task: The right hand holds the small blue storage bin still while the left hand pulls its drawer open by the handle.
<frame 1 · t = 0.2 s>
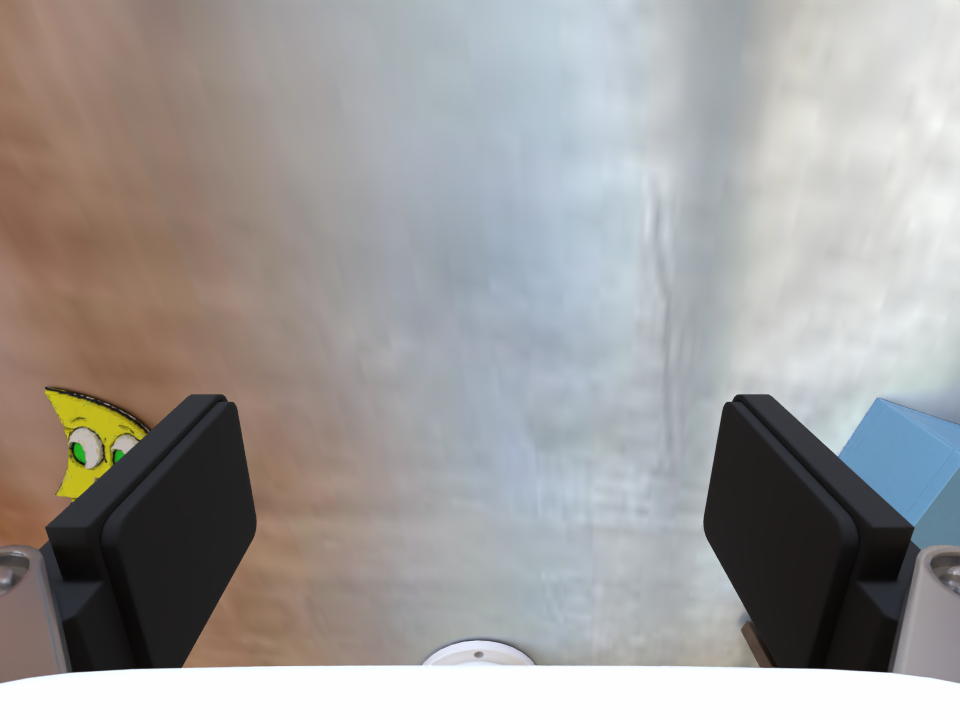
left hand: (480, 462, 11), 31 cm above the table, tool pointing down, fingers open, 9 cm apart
toy 2: (117, 477, 48), on the table
blue storage bin: (863, 523, 50), on the table
drawer: (853, 616, 48), point 4 cm above the table, slide at 1.5 cm
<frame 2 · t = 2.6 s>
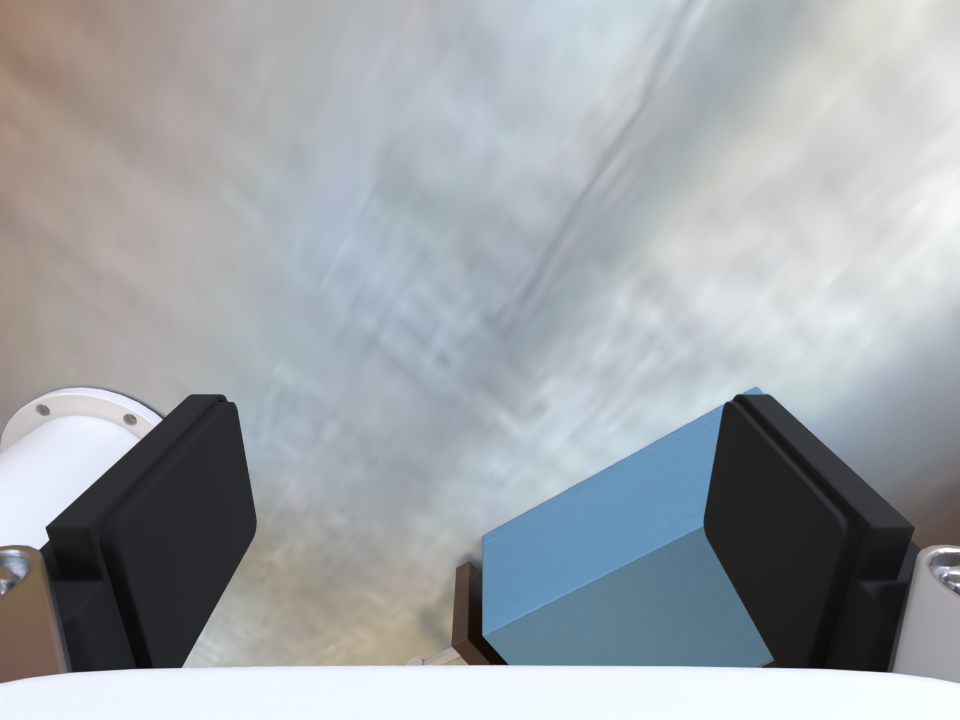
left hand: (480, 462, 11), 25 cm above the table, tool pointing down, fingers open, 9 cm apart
blue storage bin: (649, 521, 41), on the table
drawer: (584, 606, 39), point 4 cm above the table, slide at 1.5 cm
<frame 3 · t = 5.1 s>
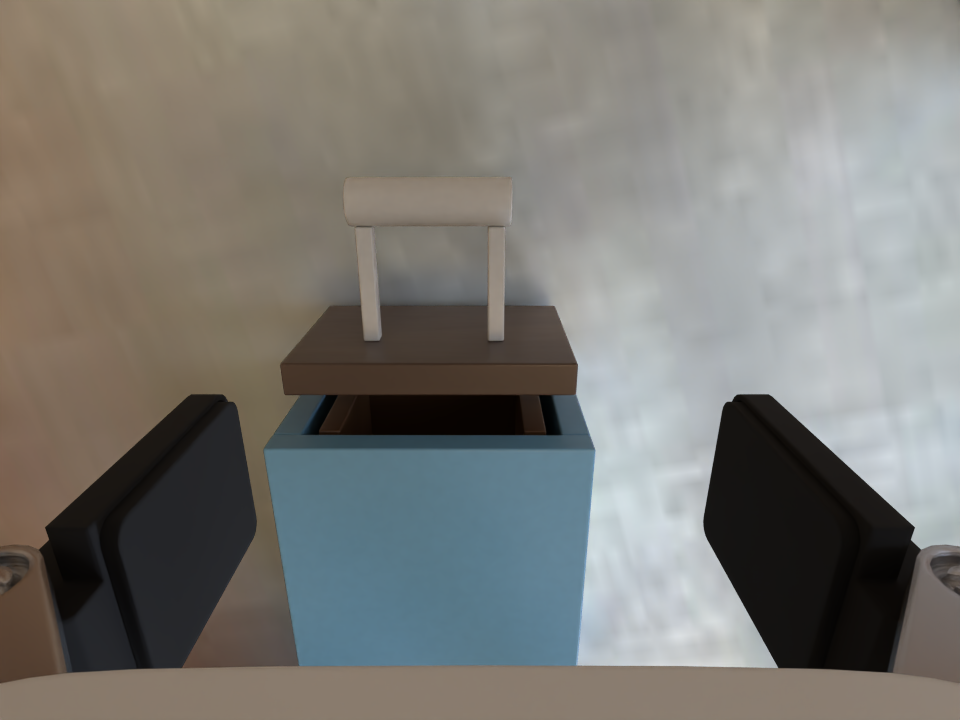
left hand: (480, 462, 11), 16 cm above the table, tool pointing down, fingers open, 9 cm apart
blue storage bin: (449, 535, 32), on the table, touching right hand
drawer: (441, 485, 25), point 4 cm above the table, slide at 1.5 cm
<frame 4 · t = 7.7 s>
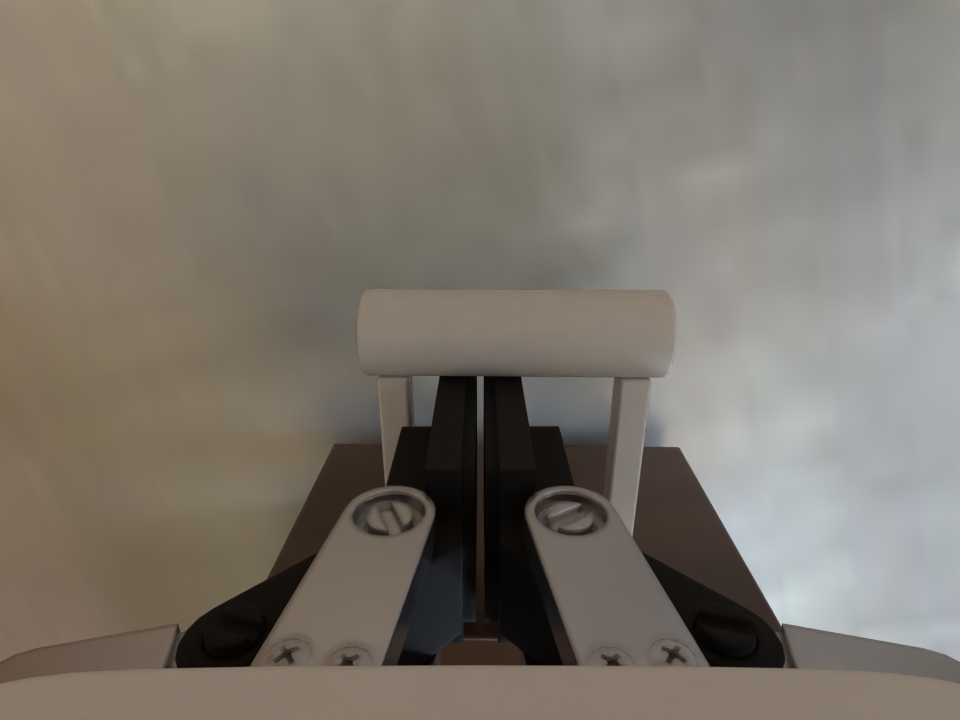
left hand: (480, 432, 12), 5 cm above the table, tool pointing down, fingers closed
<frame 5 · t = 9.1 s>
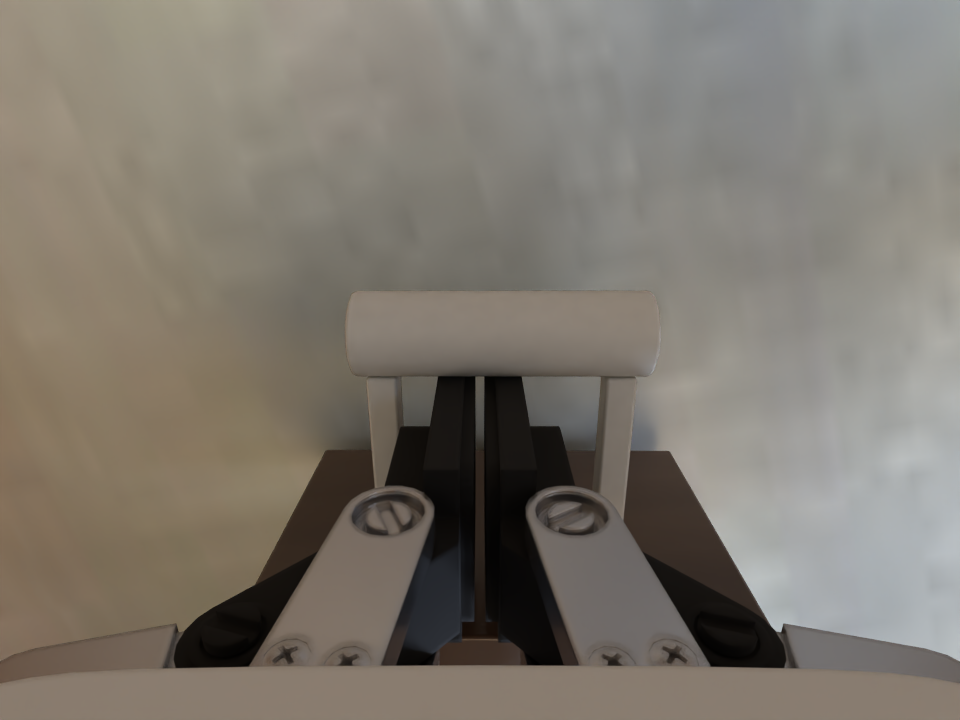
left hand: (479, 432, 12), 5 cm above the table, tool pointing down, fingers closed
when the right hand's fingers open (4 cm above the table, at t = 10.9 s): blue storage bin stays where it is, on the table.
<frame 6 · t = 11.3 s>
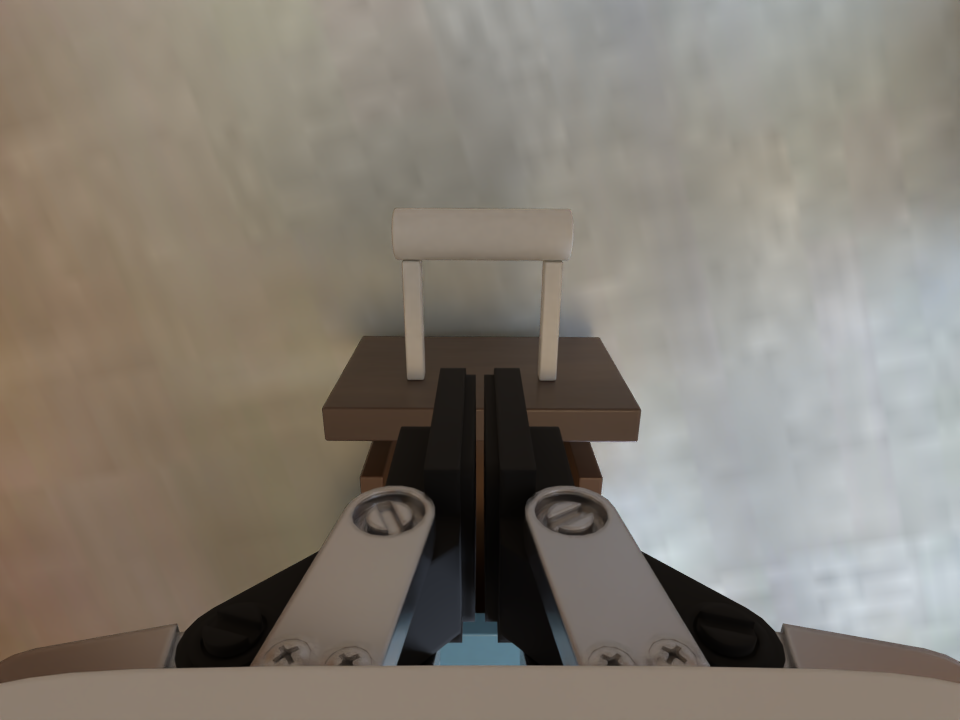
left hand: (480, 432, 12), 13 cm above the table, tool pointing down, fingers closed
blue storage bin: (479, 649, 32), on the table
drawer: (480, 526, 24), point 4 cm above the table, slide at 7.1 cm
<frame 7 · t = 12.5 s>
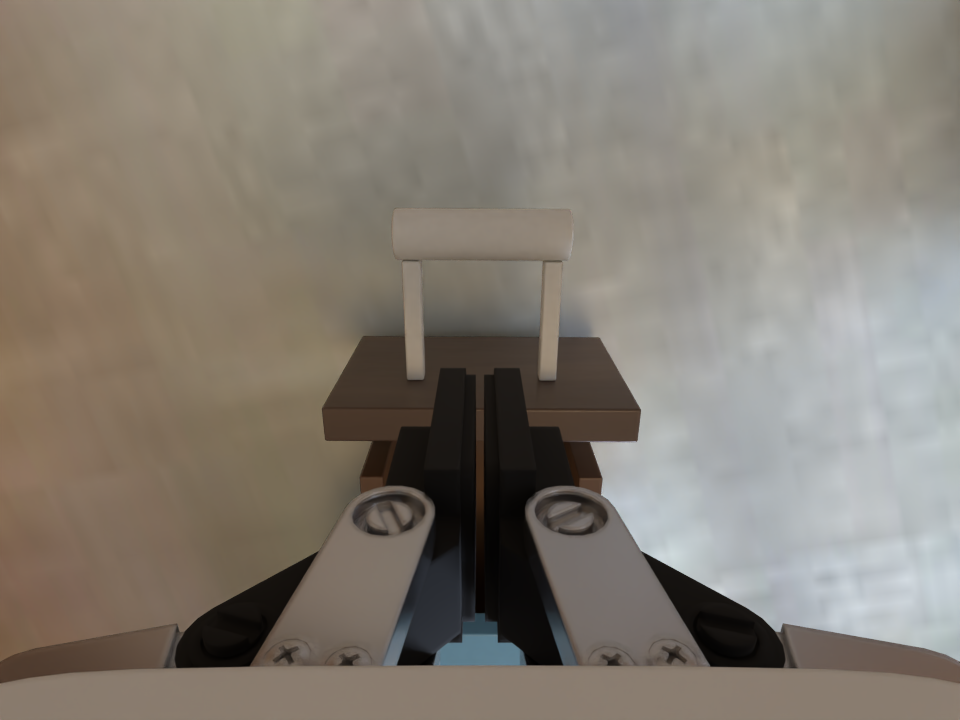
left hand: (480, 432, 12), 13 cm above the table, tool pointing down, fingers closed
blue storage bin: (479, 650, 32), on the table
drawer: (480, 526, 24), point 4 cm above the table, slide at 7.1 cm
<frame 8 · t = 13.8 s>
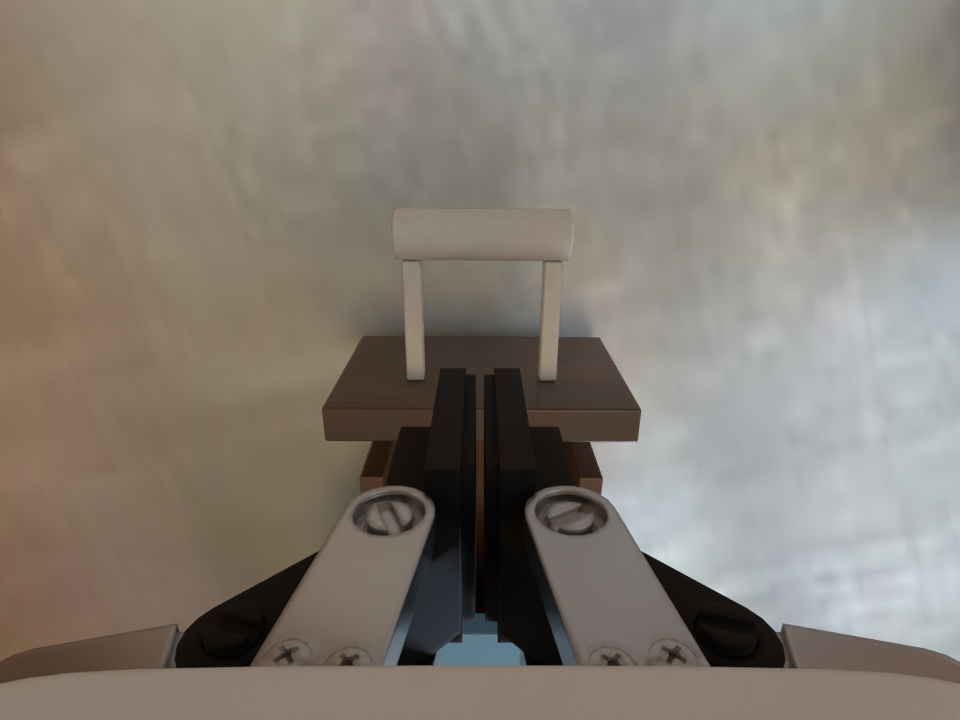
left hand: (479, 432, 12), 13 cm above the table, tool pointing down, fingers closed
blue storage bin: (479, 650, 32), on the table
drawer: (480, 526, 24), point 4 cm above the table, slide at 7.1 cm
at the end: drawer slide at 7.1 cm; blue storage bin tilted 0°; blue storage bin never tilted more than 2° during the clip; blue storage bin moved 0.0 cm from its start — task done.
